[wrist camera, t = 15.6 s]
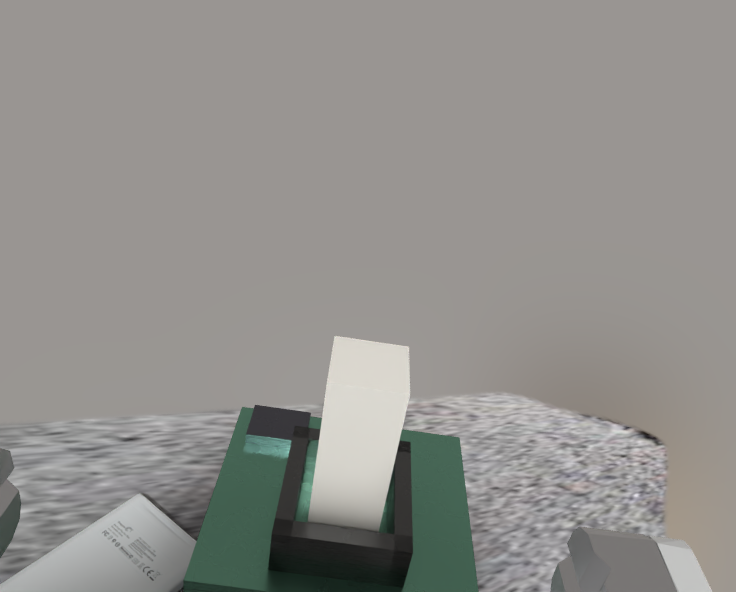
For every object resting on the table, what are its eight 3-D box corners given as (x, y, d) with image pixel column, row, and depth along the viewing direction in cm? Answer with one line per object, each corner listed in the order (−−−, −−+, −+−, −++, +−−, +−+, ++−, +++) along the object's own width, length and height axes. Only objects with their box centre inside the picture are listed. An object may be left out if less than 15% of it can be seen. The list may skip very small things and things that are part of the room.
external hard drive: (-32, 621, 38) (139, 504, 47) (41, 713, 35) (212, 567, 44) (-37, 605, 37) (138, 489, 47) (38, 698, 34) (212, 552, 43)
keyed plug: (303, 547, 35) (326, 382, 29) (313, 483, 39) (335, 327, 33) (373, 556, 35) (410, 394, 29) (375, 491, 39) (408, 338, 34)
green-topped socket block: (184, 674, 37) (183, 543, 31) (237, 493, 49) (244, 374, 43) (447, 707, 37) (495, 584, 31) (435, 520, 50) (468, 406, 44)
